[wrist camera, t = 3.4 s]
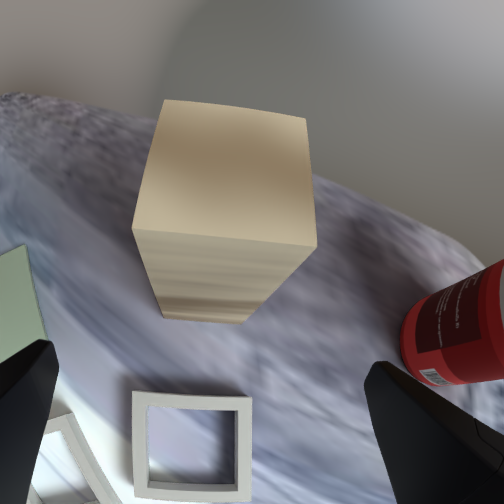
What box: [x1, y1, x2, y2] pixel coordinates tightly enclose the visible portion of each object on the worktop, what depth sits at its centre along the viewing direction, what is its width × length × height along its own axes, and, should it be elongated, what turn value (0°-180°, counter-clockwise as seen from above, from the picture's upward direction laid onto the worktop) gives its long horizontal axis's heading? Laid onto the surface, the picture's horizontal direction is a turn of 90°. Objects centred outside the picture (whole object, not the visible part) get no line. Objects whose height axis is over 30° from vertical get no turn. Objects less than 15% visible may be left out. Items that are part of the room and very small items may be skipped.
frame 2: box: [132, 390, 252, 502], centre depth 16 cm, size 7×7×2 cm
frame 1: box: [26, 413, 122, 504], centre depth 13 cm, size 7×7×2 cm
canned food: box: [400, 259, 504, 386], centre depth 18 cm, size 8×8×11 cm
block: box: [132, 100, 317, 324], centre depth 15 cm, size 5×5×13 cm
